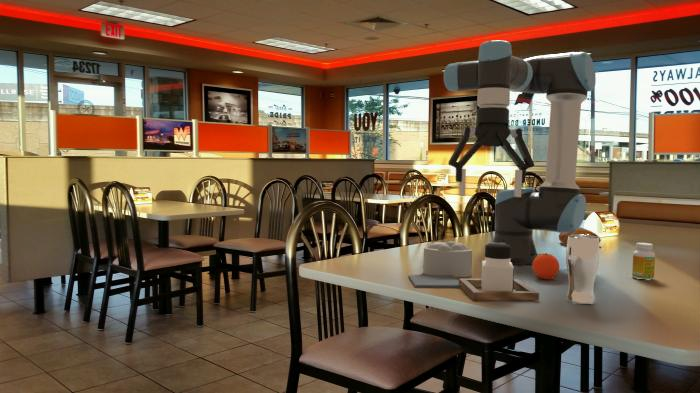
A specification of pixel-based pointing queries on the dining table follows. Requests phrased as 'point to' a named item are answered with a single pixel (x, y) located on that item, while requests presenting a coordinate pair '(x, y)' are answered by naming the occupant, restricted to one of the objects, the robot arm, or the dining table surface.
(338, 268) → the dining table surface
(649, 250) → the supplement bottle
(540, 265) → the clementine
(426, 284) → the mat
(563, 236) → the croissant
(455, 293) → the dining table surface
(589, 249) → the beer glass
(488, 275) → the medicine bottle
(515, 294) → the pocket
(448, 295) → the dining table surface
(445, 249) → the lumpy-topped squat cylinder
